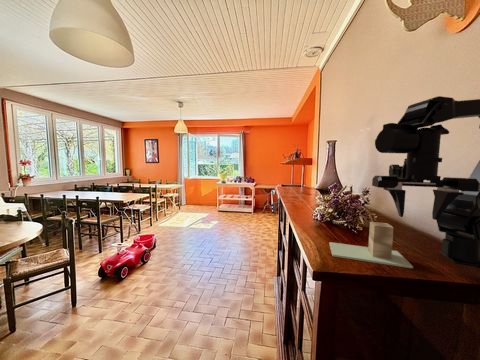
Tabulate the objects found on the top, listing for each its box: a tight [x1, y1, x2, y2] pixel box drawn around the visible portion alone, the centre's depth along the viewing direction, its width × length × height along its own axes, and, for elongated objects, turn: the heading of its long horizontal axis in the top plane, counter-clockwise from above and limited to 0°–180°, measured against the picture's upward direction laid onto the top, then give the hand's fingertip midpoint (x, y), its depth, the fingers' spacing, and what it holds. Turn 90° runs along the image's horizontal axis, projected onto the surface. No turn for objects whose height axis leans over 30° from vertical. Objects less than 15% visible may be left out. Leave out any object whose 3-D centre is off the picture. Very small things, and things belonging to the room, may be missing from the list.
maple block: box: [367, 221, 394, 259], centre depth 52 cm, size 4×4×8 cm
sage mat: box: [328, 241, 414, 269], centre depth 53 cm, size 17×9×1 cm, turn 71°
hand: (417, 218), depth 49 cm, fingers open, 6 cm apart
